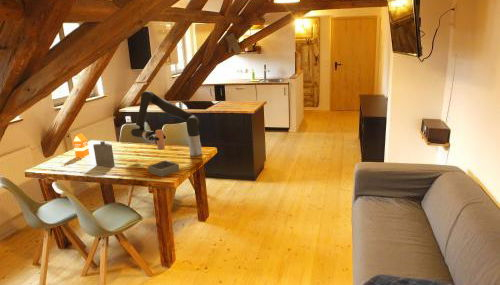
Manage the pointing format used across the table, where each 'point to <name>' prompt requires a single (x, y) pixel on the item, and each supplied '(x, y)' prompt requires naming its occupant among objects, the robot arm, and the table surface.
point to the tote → (163, 168)
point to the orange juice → (80, 146)
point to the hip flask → (104, 154)
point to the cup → (160, 140)
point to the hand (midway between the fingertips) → (161, 138)
